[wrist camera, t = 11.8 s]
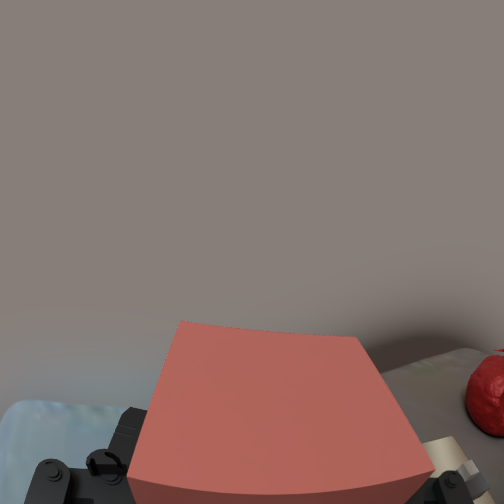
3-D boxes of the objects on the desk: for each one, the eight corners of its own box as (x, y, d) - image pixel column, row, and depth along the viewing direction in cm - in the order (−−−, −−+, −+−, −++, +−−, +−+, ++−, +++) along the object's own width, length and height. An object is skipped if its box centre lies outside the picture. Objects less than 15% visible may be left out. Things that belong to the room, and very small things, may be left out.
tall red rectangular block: (300, 473, 14) (356, 336, 12) (318, 570, 7) (436, 469, 5) (180, 466, 14) (180, 320, 11) (165, 568, 7) (126, 476, 4)
